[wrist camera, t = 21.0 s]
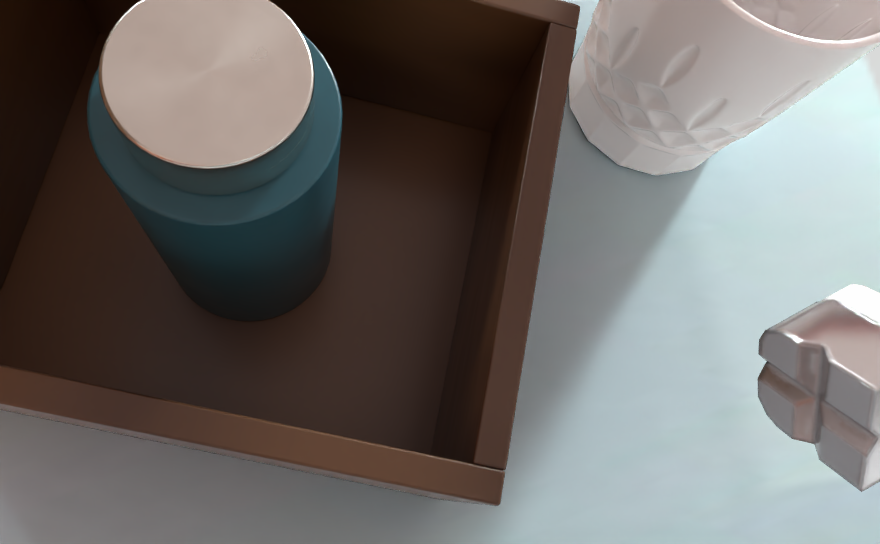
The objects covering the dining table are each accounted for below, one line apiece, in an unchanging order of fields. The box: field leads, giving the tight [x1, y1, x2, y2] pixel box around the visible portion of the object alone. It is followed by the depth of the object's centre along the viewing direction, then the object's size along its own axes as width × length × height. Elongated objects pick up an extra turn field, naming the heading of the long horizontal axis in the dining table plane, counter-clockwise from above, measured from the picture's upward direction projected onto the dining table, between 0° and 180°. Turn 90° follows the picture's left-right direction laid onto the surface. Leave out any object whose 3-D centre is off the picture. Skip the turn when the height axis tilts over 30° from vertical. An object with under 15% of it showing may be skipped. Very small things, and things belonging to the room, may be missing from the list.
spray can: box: [87, 0, 342, 321], centre depth 20 cm, size 5×5×11 cm
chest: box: [0, 0, 580, 506], centre depth 22 cm, size 16×14×8 cm
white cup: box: [569, 0, 880, 176], centre depth 25 cm, size 8×8×10 cm
